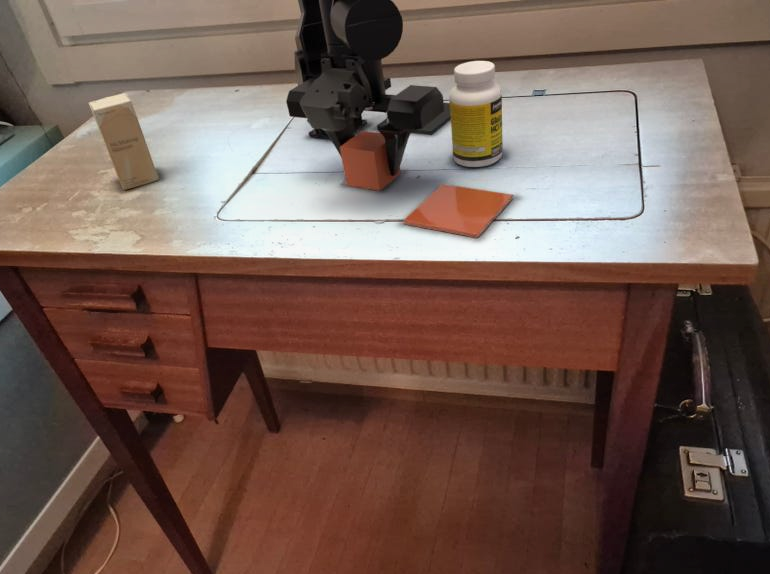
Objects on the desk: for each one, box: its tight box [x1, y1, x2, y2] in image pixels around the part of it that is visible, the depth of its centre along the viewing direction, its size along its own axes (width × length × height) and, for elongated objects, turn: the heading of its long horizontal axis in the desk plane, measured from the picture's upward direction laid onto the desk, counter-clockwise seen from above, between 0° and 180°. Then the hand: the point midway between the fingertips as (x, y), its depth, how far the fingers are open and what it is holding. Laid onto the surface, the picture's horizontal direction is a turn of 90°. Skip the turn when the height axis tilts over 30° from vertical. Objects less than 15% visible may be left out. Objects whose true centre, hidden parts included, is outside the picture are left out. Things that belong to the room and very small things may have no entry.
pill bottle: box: [448, 60, 504, 168], centre depth 79 cm, size 6×6×11 cm
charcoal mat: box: [376, 102, 451, 136], centre depth 95 cm, size 9×10×1 cm
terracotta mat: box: [403, 183, 514, 239], centre depth 73 cm, size 9×9×1 cm
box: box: [88, 92, 160, 191], centre depth 89 cm, size 5×4×11 cm
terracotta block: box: [340, 130, 402, 192], centre depth 81 cm, size 5×5×5 cm
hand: (372, 171), depth 82 cm, fingers open, 6 cm apart
